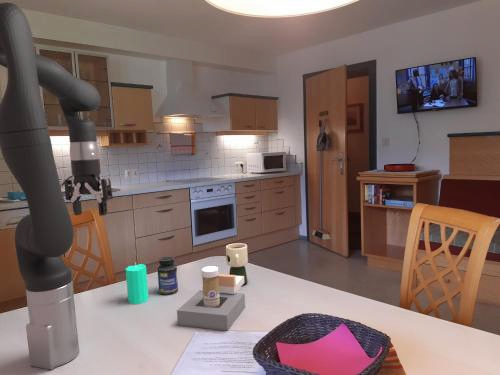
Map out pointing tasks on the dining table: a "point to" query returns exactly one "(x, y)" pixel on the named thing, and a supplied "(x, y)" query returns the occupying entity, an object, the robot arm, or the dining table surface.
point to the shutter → (229, 283)
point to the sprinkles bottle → (210, 287)
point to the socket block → (211, 311)
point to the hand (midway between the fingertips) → (90, 215)
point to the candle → (137, 284)
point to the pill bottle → (167, 276)
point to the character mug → (237, 259)
